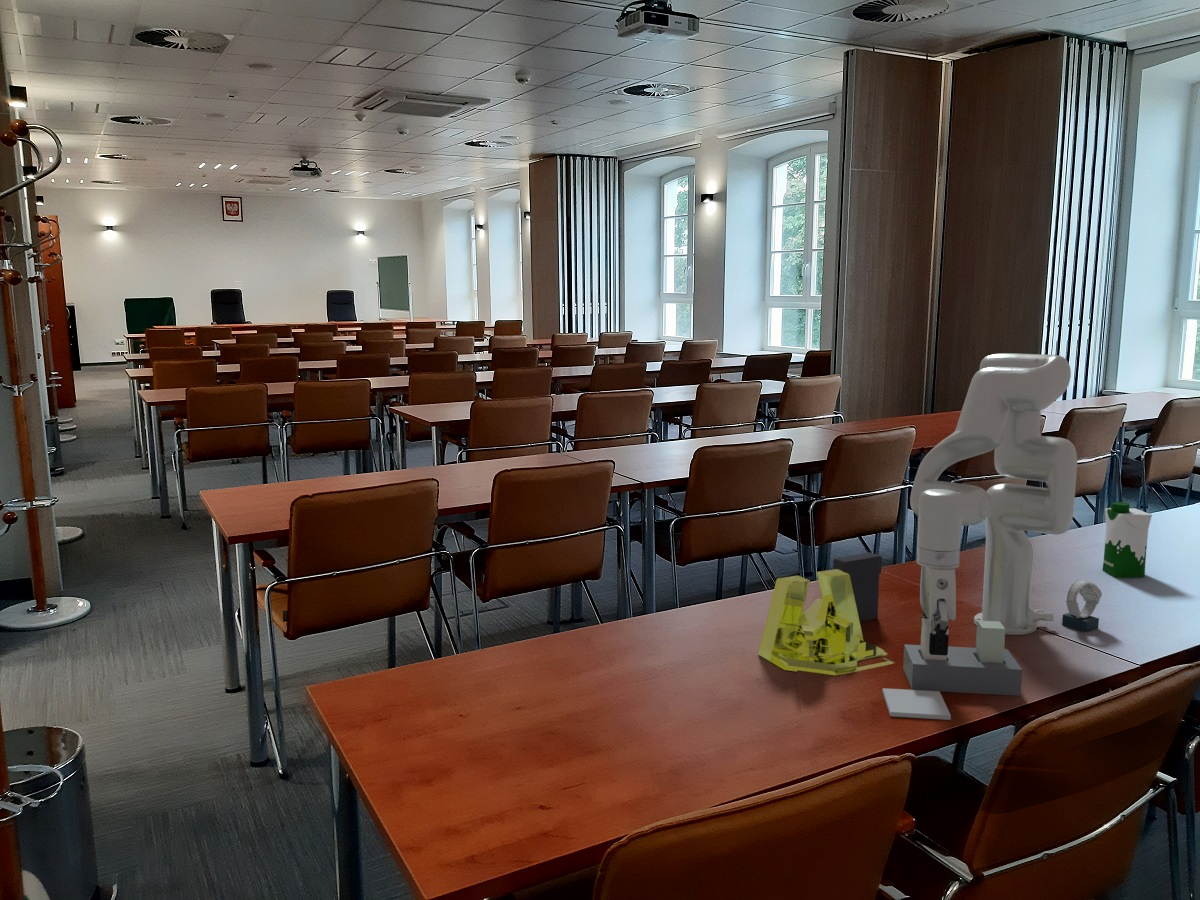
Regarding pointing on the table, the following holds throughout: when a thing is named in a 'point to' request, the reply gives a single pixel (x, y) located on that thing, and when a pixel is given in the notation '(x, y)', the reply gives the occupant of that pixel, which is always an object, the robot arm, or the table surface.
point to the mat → (916, 704)
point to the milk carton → (1125, 541)
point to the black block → (863, 581)
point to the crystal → (816, 627)
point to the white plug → (925, 641)
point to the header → (962, 672)
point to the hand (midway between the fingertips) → (933, 645)
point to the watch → (1083, 618)
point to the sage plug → (990, 642)
